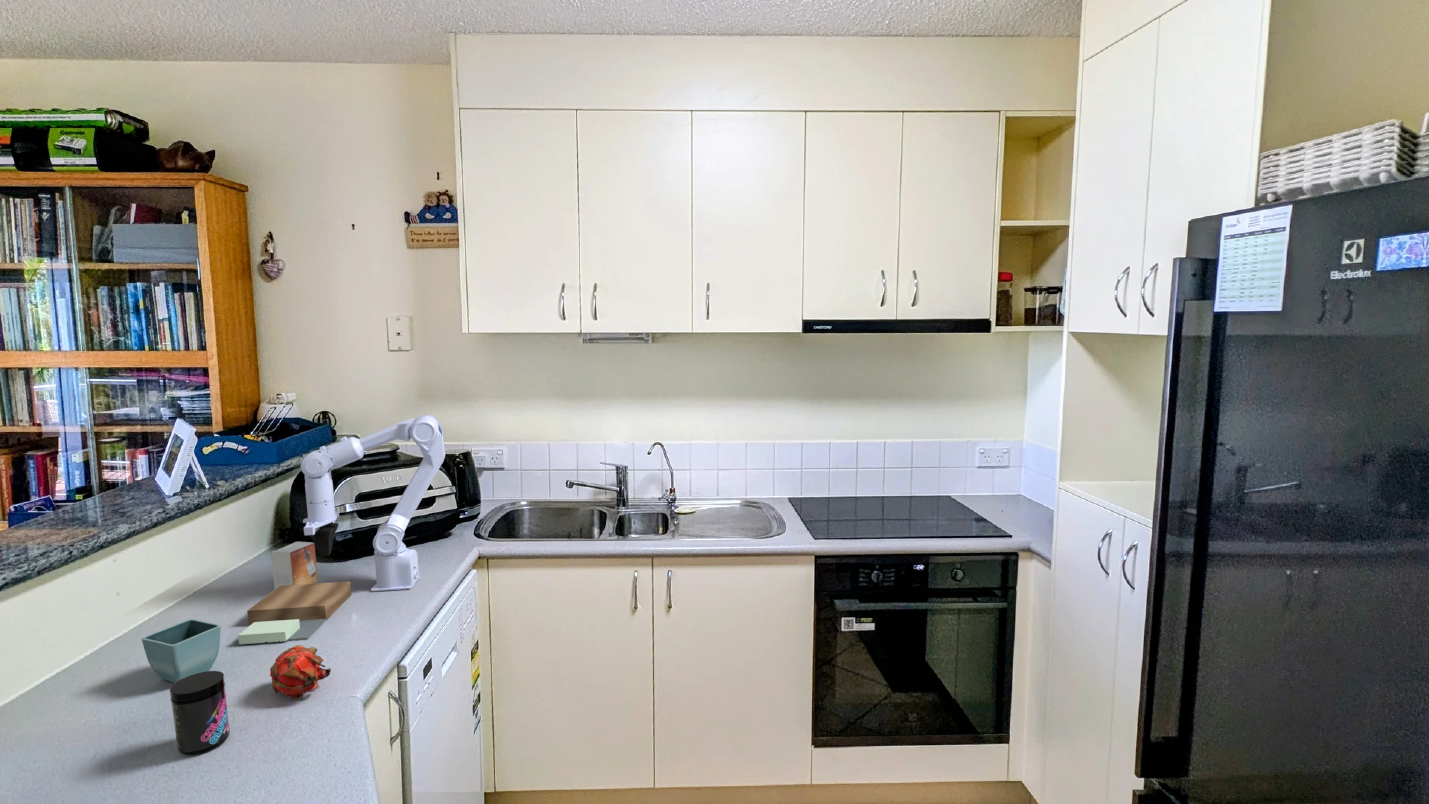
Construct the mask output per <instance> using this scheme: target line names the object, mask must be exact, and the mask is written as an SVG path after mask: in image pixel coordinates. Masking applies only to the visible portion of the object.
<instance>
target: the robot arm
mask: <svg viewBox="0 0 1429 804" xmlns="http://www.w3.org/2000/svg"><path fill="white" fill-rule="evenodd" d="M396 440H400V441H405V442H410V440H412V441H413V442H414V443H415V444H416V445H417V446H418V448H419V449H420V451H421V452H420V453H421V454H422V456H423V459H422V460H421V462H420V463H419V465H418V467H417V469H416V470H415V472H414V475H413V476H412V478H411V480H410V481H409V483H408V485H407V487H406V488H405V490H404V491H403V494H402V495H401V497H400V498H399V500H398V502H397V504H396V506H395V507H394V509H393V511H392V512H391V514H390V515H389V517H388V518H387V519H386V520H385V521H384V522H383V523H381V524H380V525H379V527H378V528H377V532H376V535H375V536H374V538H373V540H372V546H373V549H374V551H373V553H374V554H373V555H374V565H375V579H376V583H375V584H374V586H372V587H371V589H370V592H382V591H383V592H384V591H398V590H411V589H412V588H413V586H414V585H416V583H417V581H418V580H419V579H420V577H421V575H420V573H419V561H418V560H419V557H418V552H417V550H416V549H412V548H411V549H410V548H407V546H406V544H405V543H404V542H403V538H404V536H405V531H406V529H407V527H408V525H409V522H410V520H411V518H412V517H413V515H414V513H415V512H416V510H417V508H418V507H419V505H420V503H421V501H422V499H423V497H424V495H425V494H426V492H427V491H428V488H429V487H430V485H431V484H432V482H433V480H434V478H435V476H436V475H437V473H438V472H439V469H440V468H441V466H442V464H443V463H444V461H445V458H446V450H445V441H444V432H443V428H442V426H441V424H440V423H439V421H438V419H437V418H436V417H435V416H433V415H431V414H421V415H418V416H417V418H415V417H413V418H412V417H411V418H408V419H404V420H403V421H400V422H397V423H394V424H392V425H390V426H388V427H385V428H383V429H379V430H378V431H376V432H374V433H372V434H369V435H367V436H365V437H362V438H357V437H354V436H351V437H348V438H347V436H343V437H341V438H340V439H339V441H337V442H335V443H332V444H330V445H328V446H325V445H323V446H320V447H319V449H317V450H314V451H311V452H310V453H308V454H307V455H306V456H305V457H304V458H303V459H302V460H301V463H300V470H301V472H302V473H303V475H304V481H305V482H304V488H305V489H304V491H305V498H306V499H305V501H306V509H307V510H306V511H307V517H306V518H304V519H303V520H302V521H303V524H304V523H305V526H304V527H303V534H304V536H309V537H310V538H311V539H312V541H313V543H314V544H315V549H316V550H317V553H318V555H319V556H321V557H325V556H330V554H332V550H333V544H334V539H335V535H336V531H337V530H338V528H339V523H338V522H335V521H336V520H337V519H338V518H340V510H339V509H336V507H335V506H336V505H335V498H334V497H335V496H334V495H335V494H334V483H333V479H332V470H335V469H339V468H341V467H343V466H347V465H349V464H351V463H354V462H356V461H358V460H361V459H363V457H364V455H365V452H367V451H369V450H371V449H374V448H377V447H380V446H383V445H385V444H388V443H391V442H393V441H396Z"/></svg>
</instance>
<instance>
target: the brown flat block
mask: <svg viewBox="0 0 1429 804" xmlns="http://www.w3.org/2000/svg"><path fill="white" fill-rule="evenodd" d="M351 585H352V584H351V581H348V580H347V581H332V582H321V583H318V582H316V583H314V584H300V585H285V586H279V587H277V588H276V589H275V588H274V590H272V591H271V592H270V593H268V594H267V595H265V596H264V597H263V598H262V599H261V600H259V601H258V602H257V603H255V604H254V605H253V606H251V607H250V608H249V609H248V610H247V611H246V612H247V622H248V627H249V626H250V625H251V624H253V623H254V622H264V621H279V620H294V619H299V621H302V620H316V619H326V621H328V620H329V618H331V616H332V615H334V613H336V611H338V610H339V608H340V607H341V606H342V605H343V604H344V603H345V602H347V601H348V599H349V598H351V596H352V587H351Z"/></svg>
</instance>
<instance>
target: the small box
mask: <svg viewBox="0 0 1429 804" xmlns="http://www.w3.org/2000/svg"><path fill="white" fill-rule="evenodd" d="M270 553H271V554H270V555H271V556H270V557H271V564H272V565H271V566H272V574H273V585H274V586H273V587H274V590H275V589H276V588H277V587H279V586H285V585H300V584H316V583H318V582H319V581H318V570H317V568H318V567H317V558H316V545H315V543H314V542H309V541H308V542H307V541H295V542H293V543H291V544H287V545H285V546H284V547H280V548H278V549H275V550H272V551H270Z"/></svg>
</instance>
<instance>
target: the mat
mask: <svg viewBox="0 0 1429 804" xmlns="http://www.w3.org/2000/svg"><path fill="white" fill-rule="evenodd" d="M326 621H327V620H326V619H316V620H302V621H299V623H300V628H299V629H298V630H297V631H296V632H295V633H294V634H293V635H292V636H291V637H290V638H289V639H288V640H287V641H286V642H293V641H292V640H294V641H303V640H306V639H307V640H309V639H308V638H311V637H312V636H313V635H314V634H315V633H316V632H317V631H318V629H320V627H322V626H323V624H324V623H326ZM313 633H314V634H313ZM311 635H312V636H311ZM310 636H311V637H310ZM307 640H306V641H307ZM236 644H239V639H238V640H237V641H236V642H235V643H234V645H235V646H237V645H236ZM252 644H253V645H254V643H252ZM239 645H240V644H239Z"/></svg>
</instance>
